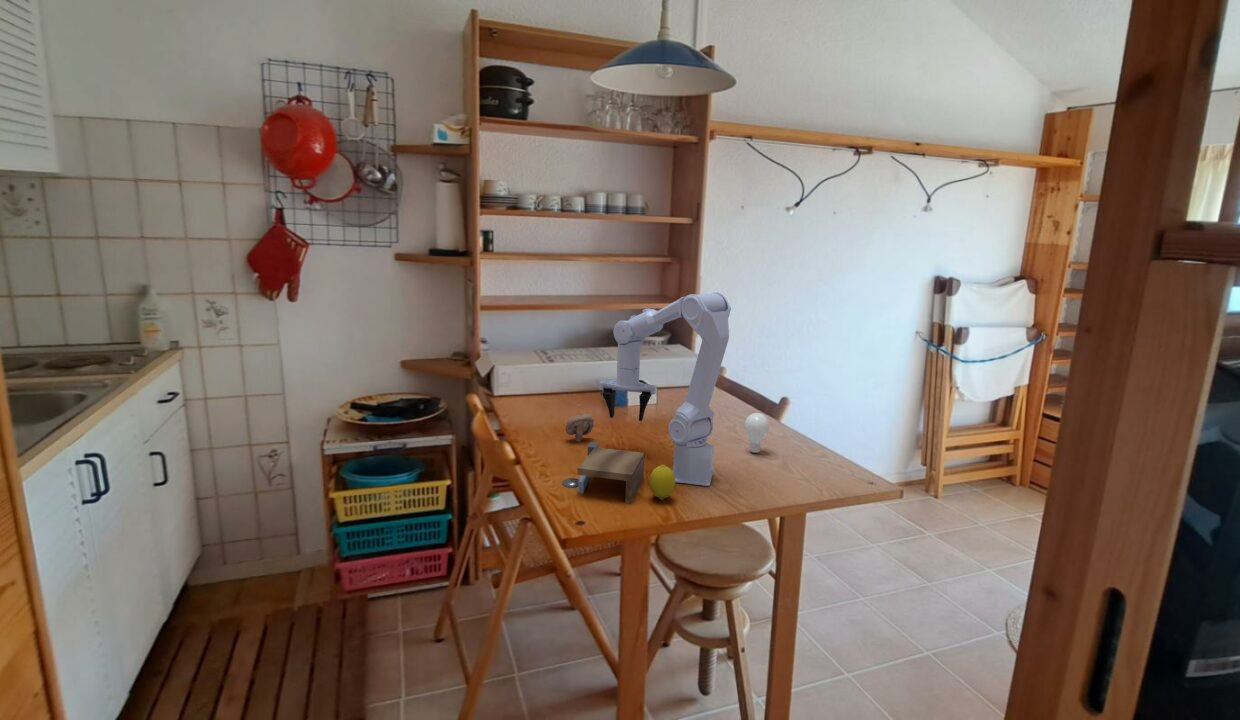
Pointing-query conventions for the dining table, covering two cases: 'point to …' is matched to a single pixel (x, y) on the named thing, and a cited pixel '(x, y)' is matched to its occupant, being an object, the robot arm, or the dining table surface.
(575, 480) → the token
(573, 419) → the mushroom
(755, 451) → the lightbulb
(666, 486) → the lemon
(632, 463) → the shelf
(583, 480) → the scraper
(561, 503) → the dining table surface
